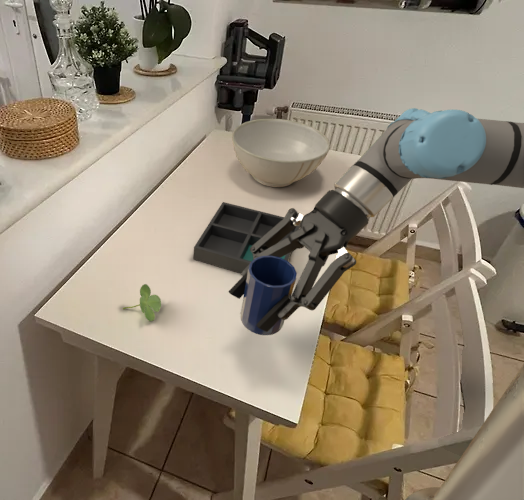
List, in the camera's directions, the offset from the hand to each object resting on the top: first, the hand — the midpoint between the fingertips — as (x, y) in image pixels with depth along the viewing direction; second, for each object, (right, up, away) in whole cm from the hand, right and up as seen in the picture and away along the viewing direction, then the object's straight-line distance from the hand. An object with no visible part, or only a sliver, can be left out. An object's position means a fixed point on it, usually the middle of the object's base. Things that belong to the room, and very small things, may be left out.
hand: (247, 311), depth 69 cm
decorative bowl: (+17, +32, +58) cm, 68 cm away
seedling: (-18, -2, +17) cm, 24 cm away
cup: (+3, -2, +4) cm, 5 cm away
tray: (+6, +11, +33) cm, 35 cm away
